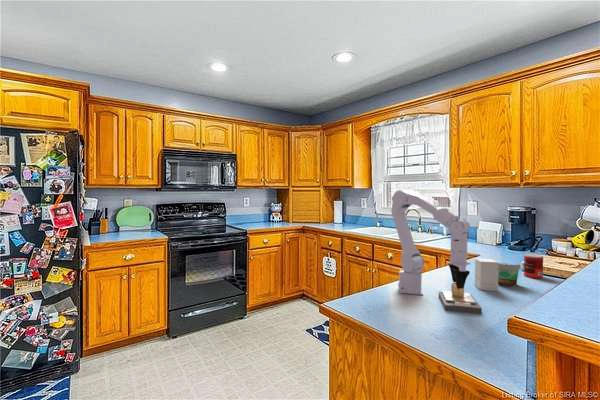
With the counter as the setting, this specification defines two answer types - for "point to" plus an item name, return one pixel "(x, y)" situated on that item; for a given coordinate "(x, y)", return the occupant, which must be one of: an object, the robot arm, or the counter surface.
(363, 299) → the counter surface
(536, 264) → the canned food
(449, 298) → the platform
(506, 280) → the food container
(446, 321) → the counter surface
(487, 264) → the supplement box
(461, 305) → the scale
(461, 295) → the cylinder
